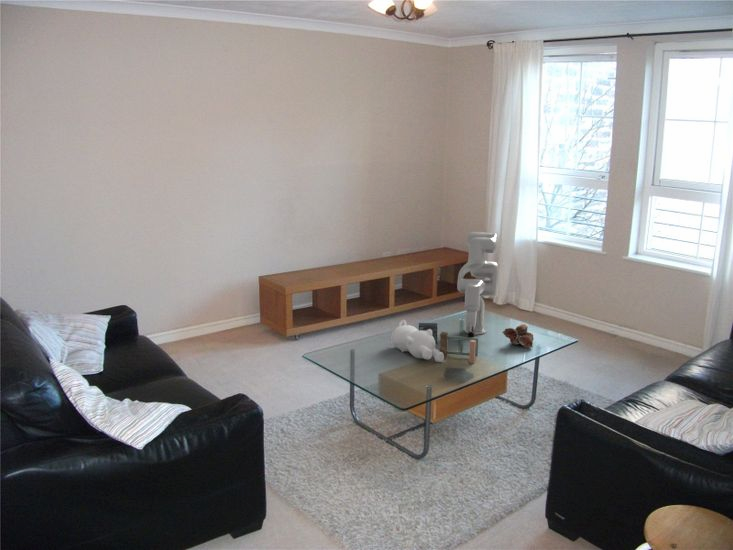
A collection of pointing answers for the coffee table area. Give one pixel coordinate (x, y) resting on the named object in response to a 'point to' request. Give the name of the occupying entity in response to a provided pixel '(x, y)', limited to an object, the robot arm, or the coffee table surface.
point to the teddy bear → (416, 342)
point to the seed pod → (519, 335)
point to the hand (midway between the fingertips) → (470, 339)
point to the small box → (429, 326)
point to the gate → (462, 345)
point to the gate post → (443, 343)
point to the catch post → (472, 351)
